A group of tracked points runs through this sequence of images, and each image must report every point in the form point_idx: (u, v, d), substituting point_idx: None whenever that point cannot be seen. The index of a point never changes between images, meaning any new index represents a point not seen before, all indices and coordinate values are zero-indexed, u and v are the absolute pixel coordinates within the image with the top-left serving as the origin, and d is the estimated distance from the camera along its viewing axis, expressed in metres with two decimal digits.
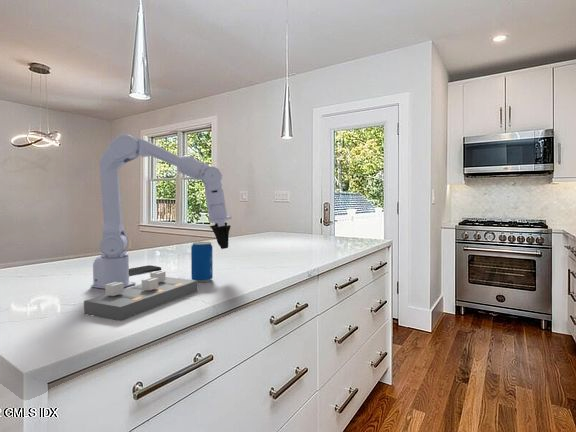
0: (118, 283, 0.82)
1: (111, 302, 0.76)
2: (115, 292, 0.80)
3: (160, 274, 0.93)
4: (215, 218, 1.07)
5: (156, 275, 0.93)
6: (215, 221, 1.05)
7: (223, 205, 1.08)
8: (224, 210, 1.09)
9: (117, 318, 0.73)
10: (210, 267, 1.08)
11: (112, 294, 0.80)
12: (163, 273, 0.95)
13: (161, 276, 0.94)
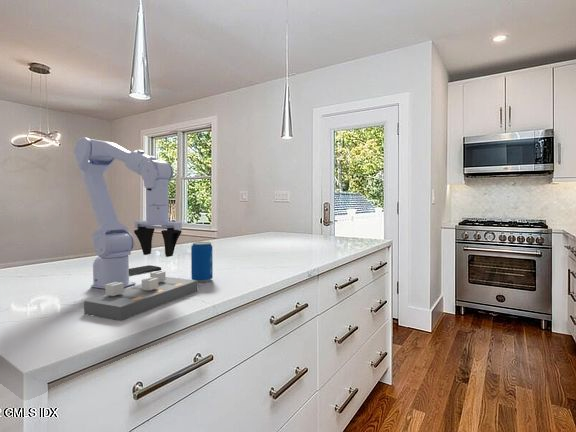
0: (118, 283, 0.82)
1: (111, 302, 0.76)
2: (115, 292, 0.80)
3: (160, 274, 0.93)
4: None
5: (156, 275, 0.93)
6: None
7: (146, 207, 0.92)
8: (146, 213, 0.92)
9: (117, 318, 0.73)
10: (210, 267, 1.08)
11: (112, 294, 0.80)
12: (163, 273, 0.95)
13: (161, 276, 0.94)
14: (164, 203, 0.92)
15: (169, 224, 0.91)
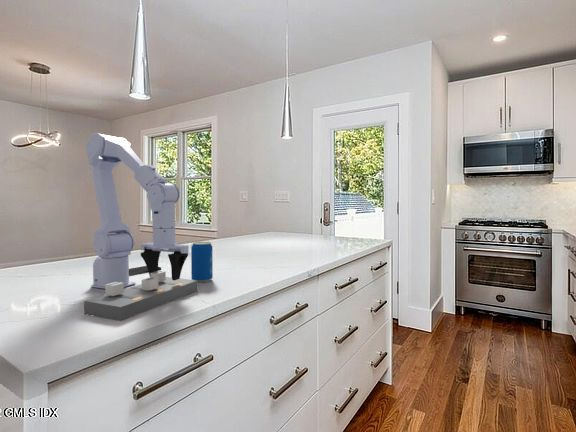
0: (118, 283, 0.82)
1: (111, 302, 0.76)
2: (115, 292, 0.80)
3: (160, 274, 0.93)
4: None
5: (156, 275, 0.93)
6: None
7: None
8: None
9: (117, 318, 0.73)
10: (210, 267, 1.08)
11: (112, 294, 0.80)
12: (163, 273, 0.95)
13: (161, 276, 0.94)
14: (171, 226, 0.91)
15: (176, 248, 0.90)
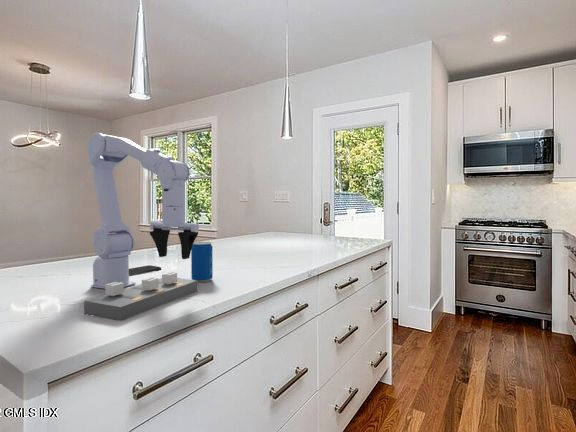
0: (118, 283, 0.82)
1: (111, 302, 0.76)
2: (115, 292, 0.80)
3: (172, 275, 0.92)
4: None
5: (168, 276, 0.91)
6: None
7: (162, 208, 0.90)
8: (162, 214, 0.90)
9: (117, 318, 0.73)
10: (210, 267, 1.08)
11: (112, 294, 0.80)
12: (175, 274, 0.93)
13: (173, 277, 0.92)
14: (181, 204, 0.90)
15: (186, 226, 0.88)
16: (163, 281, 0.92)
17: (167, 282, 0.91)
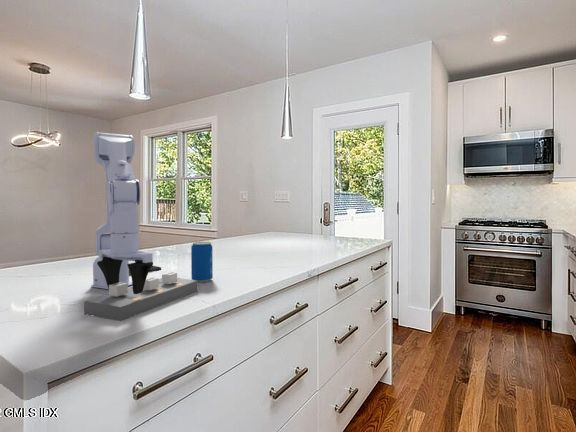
0: (122, 283, 0.81)
1: (111, 302, 0.76)
2: (119, 293, 0.80)
3: (172, 275, 0.92)
4: None
5: (168, 276, 0.91)
6: None
7: (111, 235, 0.78)
8: (111, 242, 0.78)
9: (117, 318, 0.73)
10: (210, 267, 1.08)
11: (116, 295, 0.79)
12: (175, 274, 0.93)
13: (173, 277, 0.92)
14: (124, 231, 0.77)
15: (137, 256, 0.77)
16: (163, 281, 0.92)
17: (167, 282, 0.91)
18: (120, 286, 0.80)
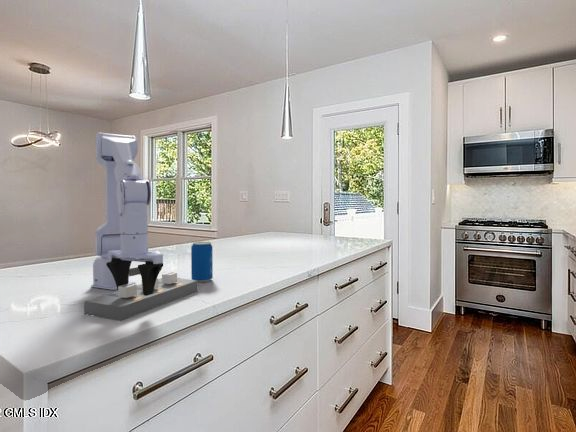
0: (131, 285, 0.80)
1: (111, 302, 0.76)
2: (128, 294, 0.79)
3: (172, 275, 0.92)
4: None
5: (168, 276, 0.91)
6: None
7: (120, 236, 0.77)
8: (120, 243, 0.77)
9: (117, 318, 0.73)
10: (210, 267, 1.08)
11: (125, 296, 0.78)
12: (175, 274, 0.93)
13: (173, 277, 0.92)
14: (135, 232, 0.76)
15: (147, 257, 0.75)
16: (163, 281, 0.92)
17: (167, 282, 0.91)
18: (129, 287, 0.79)
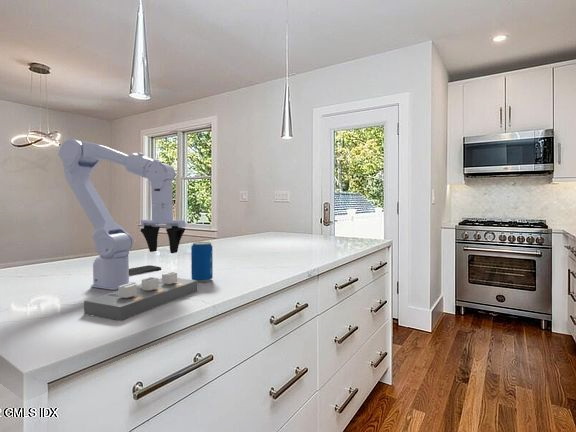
0: (131, 285, 0.80)
1: (111, 302, 0.76)
2: (128, 294, 0.79)
3: (172, 275, 0.92)
4: None
5: (168, 276, 0.91)
6: None
7: None
8: None
9: (117, 318, 0.73)
10: (210, 267, 1.08)
11: (125, 296, 0.78)
12: (175, 274, 0.93)
13: (173, 277, 0.92)
14: (171, 203, 0.99)
15: (173, 222, 0.96)
16: (163, 281, 0.92)
17: (167, 282, 0.91)
18: (129, 287, 0.79)
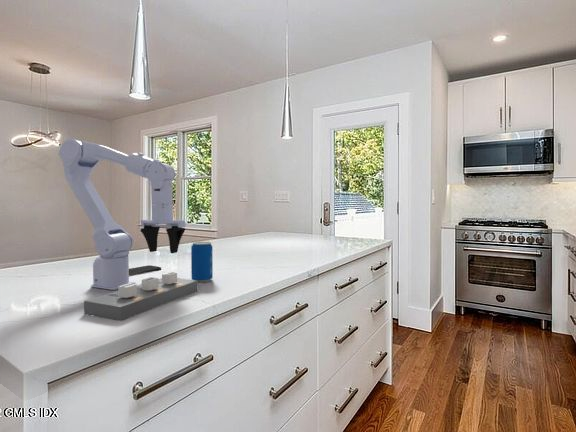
0: (131, 285, 0.80)
1: (111, 302, 0.76)
2: (128, 294, 0.79)
3: (172, 275, 0.92)
4: None
5: (168, 276, 0.91)
6: None
7: None
8: None
9: (117, 318, 0.73)
10: (210, 267, 1.08)
11: (125, 296, 0.78)
12: (175, 274, 0.93)
13: (173, 277, 0.92)
14: (171, 203, 0.99)
15: (173, 222, 0.96)
16: (163, 281, 0.92)
17: (167, 282, 0.91)
18: (129, 287, 0.79)
